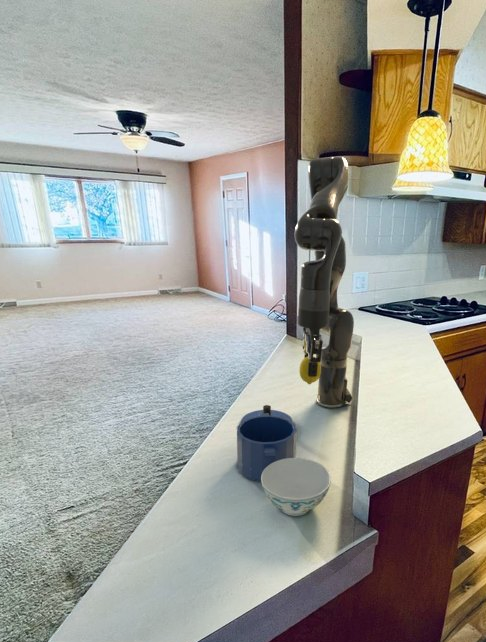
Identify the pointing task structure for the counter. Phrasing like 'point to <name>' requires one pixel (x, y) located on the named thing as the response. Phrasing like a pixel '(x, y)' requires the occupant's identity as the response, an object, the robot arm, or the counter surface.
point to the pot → (264, 443)
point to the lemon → (304, 371)
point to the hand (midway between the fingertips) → (310, 371)
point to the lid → (268, 410)
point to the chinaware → (295, 484)
